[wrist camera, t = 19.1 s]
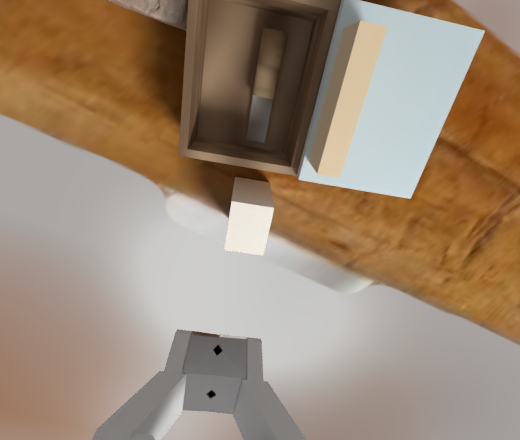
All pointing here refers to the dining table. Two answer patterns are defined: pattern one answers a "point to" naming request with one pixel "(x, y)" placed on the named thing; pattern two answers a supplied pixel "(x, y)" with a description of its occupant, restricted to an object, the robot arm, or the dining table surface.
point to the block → (249, 216)
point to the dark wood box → (251, 79)
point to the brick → (160, 10)
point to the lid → (384, 97)
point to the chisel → (265, 83)
